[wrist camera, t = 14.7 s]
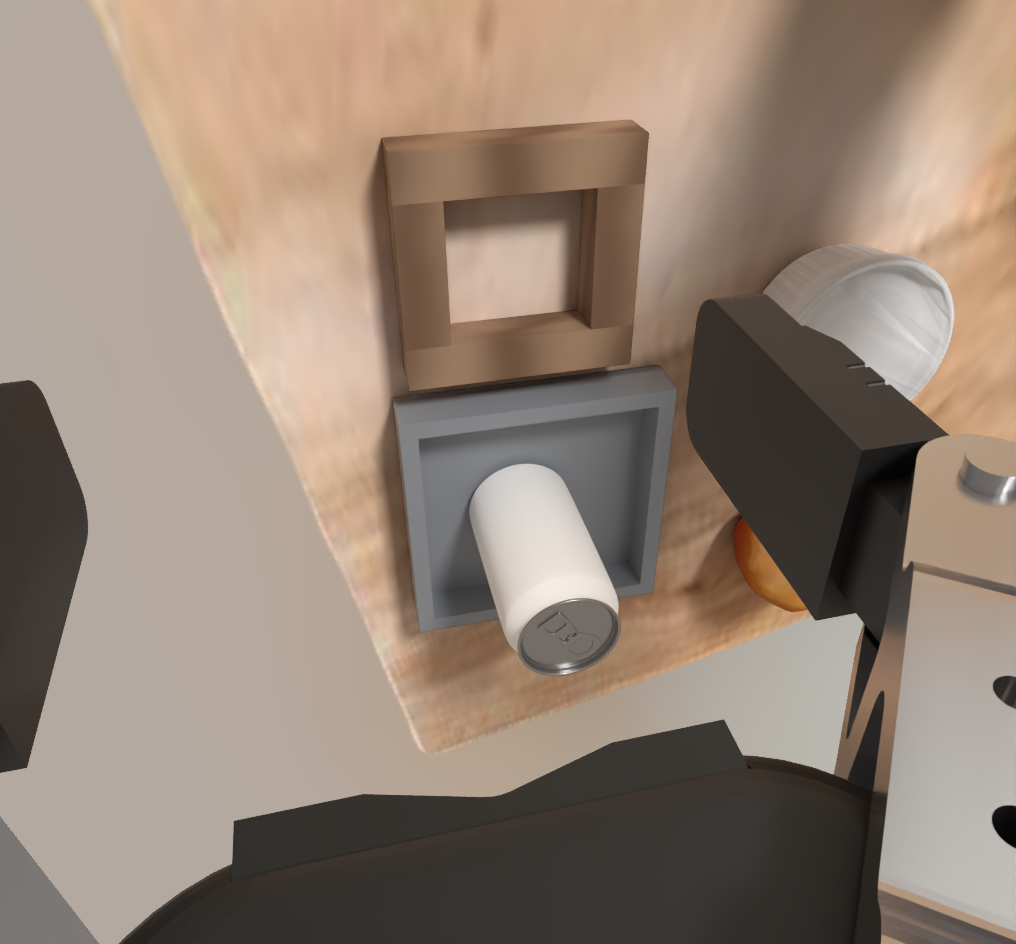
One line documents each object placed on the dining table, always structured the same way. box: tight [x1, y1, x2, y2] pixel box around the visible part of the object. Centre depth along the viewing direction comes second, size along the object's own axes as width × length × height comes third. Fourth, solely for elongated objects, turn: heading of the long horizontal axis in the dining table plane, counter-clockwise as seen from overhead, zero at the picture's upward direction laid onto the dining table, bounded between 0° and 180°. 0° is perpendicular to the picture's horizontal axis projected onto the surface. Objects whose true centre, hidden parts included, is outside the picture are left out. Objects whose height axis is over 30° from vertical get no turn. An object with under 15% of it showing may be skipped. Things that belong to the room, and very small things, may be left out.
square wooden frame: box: [382, 120, 649, 391], centre depth 44 cm, size 12×12×2 cm
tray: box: [392, 365, 677, 632], centre depth 54 cm, size 16×16×3 cm
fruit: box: [734, 517, 808, 612], centre depth 59 cm, size 8×8×8 cm
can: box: [469, 464, 621, 676], centre depth 50 cm, size 6×6×12 cm
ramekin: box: [763, 244, 954, 401], centre depth 50 cm, size 11×11×5 cm
